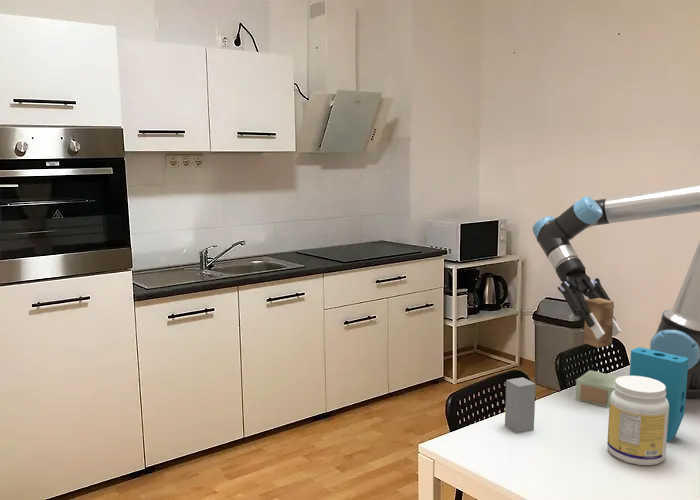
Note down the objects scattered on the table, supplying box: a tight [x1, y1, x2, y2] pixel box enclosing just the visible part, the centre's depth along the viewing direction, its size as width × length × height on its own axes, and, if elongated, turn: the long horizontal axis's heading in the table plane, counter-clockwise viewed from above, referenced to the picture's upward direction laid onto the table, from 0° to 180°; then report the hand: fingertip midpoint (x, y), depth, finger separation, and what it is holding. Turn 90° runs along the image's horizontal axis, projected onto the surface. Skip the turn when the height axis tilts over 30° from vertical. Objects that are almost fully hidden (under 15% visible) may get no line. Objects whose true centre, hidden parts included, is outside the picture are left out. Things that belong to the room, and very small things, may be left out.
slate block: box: [504, 377, 537, 434], centre depth 156 cm, size 5×5×12 cm
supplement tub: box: [606, 375, 669, 466], centre depth 141 cm, size 12×12×17 cm
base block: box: [574, 369, 620, 409], centre depth 175 cm, size 10×10×6 cm
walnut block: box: [583, 298, 615, 349], centre depth 169 cm, size 5×5×12 cm
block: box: [629, 347, 689, 443], centre depth 152 cm, size 12×5×20 cm, turn 40°
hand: (609, 334), depth 166 cm, fingers closed on walnut block, 5 cm apart
